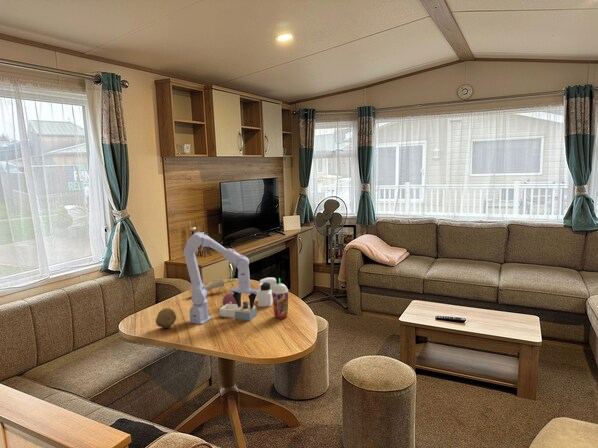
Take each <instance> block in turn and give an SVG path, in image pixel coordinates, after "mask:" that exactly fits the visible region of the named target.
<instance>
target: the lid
mask: <svg viewBox="0 0 598 448" xmlns="http://www.w3.org/2000/svg"><path fill="white" fill-rule="evenodd" d="M255 308H256V309H257V307H256V305H253V308H250V304H249V302H248V301H243V302H242V304H241V306H240V307H239V308H238V309H236V312H243V313H250V312H251V311H252V310H254V309H255Z"/></svg>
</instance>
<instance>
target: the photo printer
mask: <svg viewBox="0 0 598 448" xmlns="http://www.w3.org/2000/svg"><path fill="white" fill-rule="evenodd" d="M263 282H267V283H270V290H272V289H273V287H274V286H275V285H276V284H278V283H277V279H276V278H275V277H265V278H262V279H260V280H259V281H258V285H259V284H260V283H263Z"/></svg>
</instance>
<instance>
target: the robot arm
mask: <svg viewBox="0 0 598 448" xmlns="http://www.w3.org/2000/svg"><path fill="white" fill-rule="evenodd" d="M184 246H185V247H184V249H183V256H184V260H185V264H186V267H187V272H188V276H189V279H190V284H191V290H192V292H191V294H192V295H191V299H190V300H191V302H192V306H191V307H190V309H189V310H188V311H189V312H188V313H189V321H188V323H189V324H197V325H203V324H205V323H206V322H207V321H210V320H211V319H212V318H213V316H211V315H209V305H208V302H209V301H208V299H207V296H208V291H207V290H206V289H205V287H204V286H205V284H204V283H203V280H202V278H201V277H202V276H201V273H200V269H199V265H198V260H197V256H196V251H197V250H198V249H199V247H203V248H206V247H207V248H211V249H213V250H214V251H216V252H218V253H219V254H221V255H222V256H223V259H225V260H226V261H228V262H229V263H231V264H232V265H234V266H236V267H237V280H238V281H237V283H238V287H231V288H232V289H231V288H230V289H231V290H230V293H233V297H234V298H235V300H236V302H237V305H238V307H240V306H242V294H248V299H249V305H250V308H253V306H255V300H256V298H257V295H258V294H259V289H255V288H252V287H251V279H250V278H251V277H250V268H249V267H250V266H249V265H250V259H249V258H248V257H247V255H243V254H240V253H239V252H237V251H236V250H235V249H234V248H226V247H224V246H223V245H222V244H220V243H219V242H218V241H216V240H215V239H213V238H212V237H210V236H209V235H208V234H204V232H202V231H196V232H195V233H193V234H192V235H191V236H189V237H188V239H187V240H186V244H185V245H184Z"/></svg>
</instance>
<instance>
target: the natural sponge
mask: <svg viewBox="0 0 598 448" xmlns="http://www.w3.org/2000/svg"><path fill="white" fill-rule="evenodd" d="M176 321H177V315H176V313H175V311H174V310H173V309H172V308H169V307H167V308H166V307H165V308H162V309H160V311H159V312H158V313H157V316H156V318H155V324H156V326H158V327H159V328H162V329H165V328H168V329H169V327H170V328H171V327H172V326H173V325H174V323H175V322H176Z"/></svg>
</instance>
